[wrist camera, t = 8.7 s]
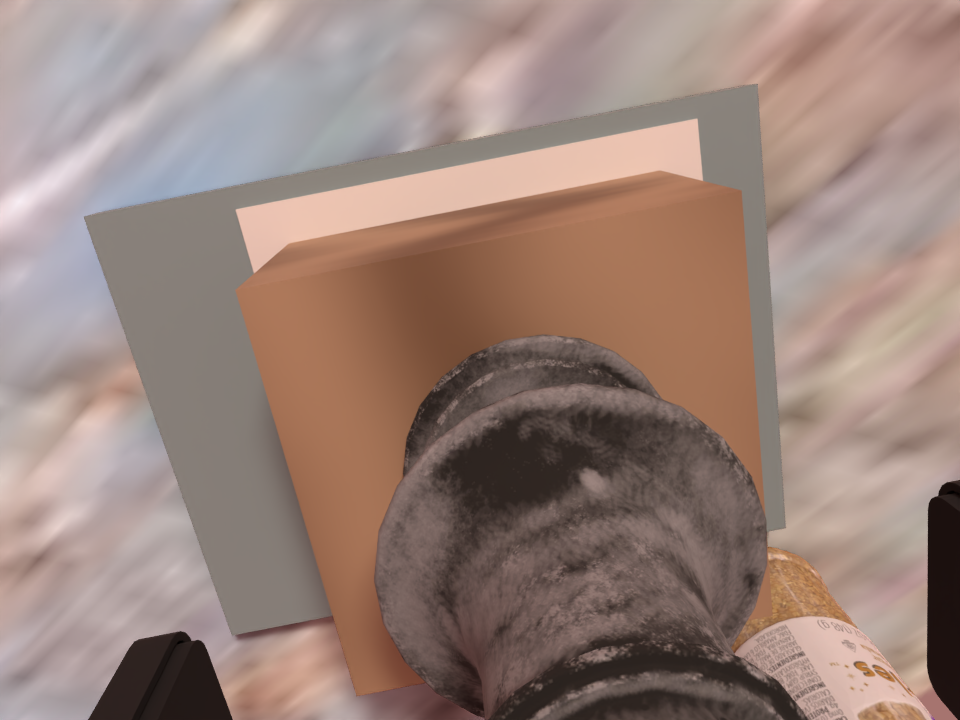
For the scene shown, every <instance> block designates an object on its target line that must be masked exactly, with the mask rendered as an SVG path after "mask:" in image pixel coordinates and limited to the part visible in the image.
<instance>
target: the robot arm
mask: <svg viewBox="0 0 960 720" xmlns="http://www.w3.org/2000/svg"><path fill="white" fill-rule="evenodd" d="M927 669H928V675H929V678H930V681H931V684H932V686H933V688H934V690H935V692H936V694H937V695H938V697H939V698H940V699H941V701H942V702H943V703H944V704H945V705H946V706H947V707H948V709H949V710H950V711H951V712H952V713H953V715H954V716H955V717H956V718H957V719H958V720H960V480H958V481H952V482H947V483H945V484H944V485H942V487H941V489H940V490H939V495H938V496H937V497H934V498H932V499H931V500H930V502H929V507H928V609H927ZM88 720H233V719H232V716H231V714H230V711H229V708H228V706H227V703H226V700H225V698H224V695H223V692H222V689H221V687H220V684H219V681H218V679H217V676H216V673H215V671H214V668H213V665H212V662H211V660H210V657H209V654H208V652H207V649H206V647H205V645H204V644H203V642H202V641H199V640H195V641H191V639H190V637H189V636H188V635H187V634H186V633H185V632H181V631H180V632H175V633H170V634H164V635H159V636H154V637H149V638H144V639H139V640H137V641H135V642H134V643H133V644H132V645H131V647H130V648H129V650H128V651H127V653H126V655H125V657H124V658H123V660H122V662H121V664H120V665H119V667H118V669H117V671H116V672H115V674H114V676H113V678H112V679H111V681H110V683H109V685H108V686H107V688H106V690H105V691H104V693H103V695H102V697H101V698H100V700H99V702H98V704H97V705H96V707H95V709H94V711H93V712H92V714H91V716H90V718H89V719H88Z"/></svg>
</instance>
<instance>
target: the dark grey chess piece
mask: <svg viewBox="0 0 960 720" xmlns="http://www.w3.org/2000/svg"><path fill="white" fill-rule="evenodd" d="M403 476H404V478H403V479H402V480H401V481H400V483H399V484H398V485H397V487H396V490H395V492H394V495H393V497H392V499H391V502H390V504H389V507H388V509H387V512H386V514H385V516H384V519H383V521H382V524H381V526H380V529H379V532H378V542H377V552H376V563H375V573H374V583H375V588H376V593H377V597H378V602H379V607H380V611H381V616H382V621H383V624H384V626H385V628H386V630H387V631H388V633H389V635H390V637H391V639H392V640H393V642H394V644H395V646H396V647H397V649H398V651H399V653H400V655H401V656H402V658H403V660H404V662H405V663H406V664H407V665H408V666H409V667H410V668H411V669H412V670H413V671H414V672H415V673H417V674H418V675H419V676H420V677H421V678H422V679H423V680H424V681H425V682H426V683H427V684H428V685H429V686H430V687H431V688H432V689H433V690H434V691H435V692H436V693H437V694H439V695H441V696H443V697H445V698H446V699H448V700H450V701H452V702H453V703H455V704H457V705H459V706H461V707H462V708H464V709H466V710H468V711H469V712H471V713H473V714H475V715H477V716H480V717H484V718H485V720H808V719H807V717H806V715H805V714H804V712H803V711H802V709H801V708H800V707H799V706H798V704H797V703H796V702H795V701H794V700H793V698H792V697H791V696H790V695H789V694H788V692H787V691H786V690H785V689H784V688H783V686H782V685H781V684H780V683H779V681H778V680H776V679H774V678H773V677H771V676H770V675H768V674H767V673H765V672H764V671H762V670H761V669H759V668H757V667H756V666H754V665H753V664H751V663H750V662H748V661H747V660H745V659H744V658H741V657H738V656H736V655H735V654H734V652H733V650H732V648H731V647H732V646H733V644H734V642H735V641H736V639H737V637H738V636H739V634H740V632H741V631H742V629H743V627H744V625H745V624H746V622H747V620H748V619H749V617H750V615H751V614H752V612H753V610H754V609H755V606H756V603H757V599H758V596H759V592H760V588H761V585H762V581H763V578H764V574H765V570H766V567H767V522H766V517H765V514H764V511H763V508H762V505H761V502H760V499H759V496H758V493H757V490H756V487H755V484H754V481H753V478H752V476H751V475H750V473H749V472H748V471H747V469H746V468H745V467H744V465H743V464H742V462H741V461H740V460H739V458H738V457H737V456H736V454H735V453H734V452H733V450H732V449H731V447H730V446H729V445H728V443H727V442H726V441H725V439H724V438H723V437H722V436H721V435H719V434H718V433H717V432H715V431H714V430H713V429H711V428H710V427H709V426H707V425H706V424H705V423H703V422H702V421H701V420H699V419H698V418H697V417H695V416H694V415H693V414H691V413H690V412H689V411H687V410H686V409H684V408H683V407H681V406H679V405H676V404H673V403H671V402H668V401H665V400H663V399H662V398H661V396H660V395H659V394H658V392H657V391H656V390H655V388H654V387H653V386H652V384H651V383H650V382H649V380H648V379H647V378H646V376H645V375H644V374H643V373H642V372H641V371H640V370H639V369H637V368H636V367H635V366H633V365H632V364H631V363H629V362H628V361H627V360H625V359H624V358H623V357H621V356H620V355H619V354H617V353H616V352H615V351H612V350H610V349H607V348H605V347H602V346H599V345H597V344H594V343H592V342H589V341H586V340H584V339H581V338H573V337H564V336H554V335H545V334H542V335H536V336H529V337H522V338H516V339H509V340H505V341H502V342H500V343H498V344H495V345H493V346H490V347H488V348H486V349H483V350H481V351H479V352H476V353H474V354H471V355H470V356H469V357H467V358H466V359H465V360H463V361H462V362H461V363H459V364H458V365H457V366H456V367H454V368H453V369H452V370H450V371H449V372H448V373H446V374H445V375H444V376H442V377H441V379H440V380H439V381H438V382H437V384H436V385H435V386H434V388H433V389H432V390H431V391H430V393H429V394H428V395H427V397H426V398H425V399H424V400H423V402H422V403H421V404H420V406H419V408H418V411H417V413H416V416H415V418H414V421H413V423H412V425H411V428H410V430H409V433H408V435H407V439H406V449H405V458H404V468H403Z"/></svg>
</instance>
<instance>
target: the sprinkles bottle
mask: <svg viewBox="0 0 960 720" xmlns="http://www.w3.org/2000/svg"><path fill="white" fill-rule="evenodd" d="M768 558H769V572H770V586H771V599H772V613H773V616H769V617H764V618H758V619H753V620H748V621H747V622H746V624H745V625H744V627H743V629H742V631H741V632H740V634H739V636H738V637H737V639H736V641H735V642H734V644H733V646H732V647H731V648H732V650H733V652H734V654H735V655H736V656H738V657H741V658H744V659H745V660H747V661H748V662H750V663H751V664H753V665H754V666H756V667H757V668H759V669H761V670H762V671H764V672H765V673H767V674H768V675H770V676H771V677H773V678H774V679H776V680H778V681H779V683H780V684H781V685H782V686H783V688H784V689H785V690H786V691H787V692H788V694H789V695H790V696H791V697H792V698H793V700H794V701H795V702H796V703H797V704H798V706H799V707H800V708H801V709H802V711H803V712H804V714H805V715H806V717H807V719H808V720H935V719H934V718H933V717H932V716H931V714H930V713H929V712H928V711H927V710H926V708H925V707H924V705H923V704H922V703H921V702H920V701H919V700H918V698H917V697H916V696H915V695H914V694H913V692H912V691H911V690H910V689H909V688H908V686H907V685H906V684H905V683H904V681H903V680H902V679H901V678H900V676H899V675H898V674H897V673H896V671H895V670H894V669H893V668H892V666H891V665H890V664H889V663H888V662H887V660H886V659H885V658H884V657H883V655H882V654H881V653H880V652H879V650H878V649H877V648H876V646H875V645H874V644H873V643H872V642H871V640H870V639H869V638H868V637H867V636H866V635H865V634H863V633H862V632H861V631H860V630H858V628H857V627H856V626H855V624H854V623H853V622H852V621H851V619H850V617H849V616H848V615H847V614H846V613H845V612H844V611H843V610H842V608H841V607H840V606H839V605H838V603H837V602H836V601H835V599H834V598H833V597H832V596H831V595H830V594H829V592H828V589H827V587H826V585H825V583H824V582H823V580H822V578H821V576H820V575H819V574H818V572H817V570H816V569H815V568H814V567H812V566H811V565H810V564H809V563H808V562H807V561H805V560H804V559H803V558H801V557H799V556H797V555H795V554H792V553H789V552H787V551H782V550H780V549H777V548H772V547H768Z"/></svg>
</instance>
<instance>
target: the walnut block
mask: <svg viewBox="0 0 960 720" xmlns="http://www.w3.org/2000/svg"><path fill="white" fill-rule="evenodd" d="M235 291H236V294H237V297H238V301H239V304H240V307H241V311H242V314H243V317H244V321H245V324H246V327H247V331H248V334H249V338H250V341H251V344H252V348H253V351H254V354H255V358H256V361H257V364H258V368H259V371H260V374H261V378H262V381H263V384H264V388H265V391H266V394H267V398H268V401H269V404H270V408H271V411H272V414H273V418H274V421H275V424H276V428H277V431H278V435H279V438H280V441H281V445H282V448H283V451H284V455H285V458H286V461H287V465H288V468H289V471H290V475H291V478H292V481H293V485H294V488H295V491H296V495H297V498H298V501H299V505H300V508H301V511H302V515H303V518H304V521H305V525H306V528H307V532H308V535H309V538H310V542H311V545H312V548H313V552H314V555H315V558H316V562H317V565H318V568H319V572H320V575H321V578H322V582H323V585H324V588H325V592H326V595H327V598H328V602H329V605H330V608H331V612H332V615H333V618H334V622H335V625H336V628H337V632H338V635H339V639H340V642H341V645H342V649H343V652H344V655H345V659H346V662H347V665H348V669H349V672H350V675H351V679H352V682H353V685H354V689H355V692H356V695H357V696H360V695H366V694H371V693H376V692H381V691H386V690H391V689H397V688H402V687H407V686H412V685H417V684H422V683H426V682H425V681H424V680H423V679H422V678H421V677H420V676H419V675H418V674H417V673H415V672H414V671H413V670H412V669H411V668H410V667H409V666H408V665H407V664H406V663H405V662H404V660H403V658H402V656H401V655H400V653H399V651H398V649H397V647H396V646H395V644H394V642H393V640H392V639H391V637H390V635H389V633H388V631H387V630H386V628H385V626H384V624H383V621H382V616H381V611H380V607H379V602H378V597H377V593H376V588H375V583H374V573H375V563H376V552H377V542H378V532H379V529H380V526H381V524H382V521H383V519H384V516H385V514H386V512H387V509H388V507H389V504H390V502H391V499H392V497H393V495H394V492H395V490H396V487H397V485H398V484H399V483H400V481H401V480H402V479H403V478H404V476H403V468H404V458H405V449H406V439H407V435H408V433H409V430H410V428H411V425H412V423H413V421H414V418H415V416H416V413H417V411H418V408H419V406H420V404H421V403H422V402H423V400H424V399H425V398H426V397H427V395H428V394H429V393H430V391H431V390H432V389H433V388H434V386H435V385H436V384H437V382H438V381H439V380H440V379H441V377H442V376H444V375H445V374H446V373H448V372H449V371H450V370H452V369H453V368H454V367H456V366H457V365H458V364H459V363H461V362H462V361H463V360H465V359H466V358H467V357H469V356H470V355H471V354H474V353H476V352H479V351H481V350H483V349H486V348H488V347H490V346H493V345H495V344H498V343H500V342H502V341H505V340H509V339H516V338H522V337H529V336H536V335H542V334H545V335H554V336H564V337H573V338H581V339H584V340H586V341H589V342H592V343H594V344H597V345H599V346H602V347H605V348H607V349H610V350H612V351H615V352H616V353H617V354H619V355H620V356H621V357H623V358H624V359H625V360H627V361H628V362H629V363H631V364H632V365H633V366H635V367H636V368H637V369H639V370H640V371H641V372H642V373H643V374H644V375H645V376H646V378H647V379H648V380H649V382H650V383H651V384H652V386H653V387H654V388H655V390H656V391H657V392H658V394H659V395H660V396H661V398H662V399H663V400H665V401H668V402H671V403H673V404H676V405H679V406H681V407H683V408H684V409H686V410H687V411H689V412H690V413H691V414H693V415H694V416H695V417H697V418H698V419H699V420H701V421H702V422H703V423H705V424H706V425H707V426H709V427H710V428H711V429H713V430H714V431H715V432H717V433H718V434H719V435H721V436H722V437H723V438H724V439H725V441H726V442H727V443H728V445H729V446H730V447H731V449H732V450H733V452H734V453H735V454H736V456H737V457H738V458H739V460H740V461H741V462H742V464H743V465H744V467H745V468H746V469H747V471H748V472H749V473H750V475H751V476H752V478H753V481H754V484H755V487H756V490H757V493H758V496H759V499H760V502H761V505H762V508H763V511H764V514H765V504H764V490H763V476H762V463H761V449H760V435H759V421H758V408H757V394H756V380H755V367H754V353H753V339H752V326H751V312H750V298H749V285H748V271H747V257H746V244H745V230H744V216H743V203H742V190H738V189H734V188H730V187H726V186H722V185H717V184H713V183H709V182H705V181H701V180H697V179H693V178H689V177H685V176H681V175H677V174H673V173H669V172H665V171H661V170H659V171H654V172H649V173H644V174H639V175H634V176H629V177H624V178H618V179H613V180H608V181H603V182H598V183H593V184H588V185H583V186H578V187H573V188H568V189H563V190H557V191H552V192H547V193H542V194H537V195H532V196H527V197H522V198H517V199H512V200H507V201H502V202H496V203H491V204H486V205H481V206H476V207H471V208H466V209H461V210H456V211H451V212H446V213H441V214H435V215H430V216H425V217H420V218H415V219H410V220H405V221H400V222H395V223H390V224H385V225H380V226H375V227H369V228H364V229H359V230H354V231H349V232H344V233H339V234H334V235H329V236H324V237H319V238H314V239H308V240H303V241H298V242H293V243H289V244H287V245H286V246H285V247H284V248H283V249H282V250H281V251H279V252H278V253H277V254H276V255H275V256H274V257H273V258H271V259H270V260H269V261H268V262H267V263H266V264H264V265H263V266H262V267H261V268H260V269H259V270H258V271H256V272H255V273H254V274H253V275H252V276H251V277H250V278H248V279H247V280H246V281H245V282H244V283H243V284H242V285H240V286H239V287H238V288H237V289H236V290H235ZM769 616H773V613H772V599H771V586H770V572H769V558H768V545H767V567H766V570H765V574H764V578H763V581H762V585H761V588H760V592H759V596H758V599H757V603H756V606H755V609H754V610H753V612H752V614H751V615H750V617H749V619H748V620H753V619H758V618H764V617H769ZM748 620H747V621H748Z"/></svg>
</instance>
